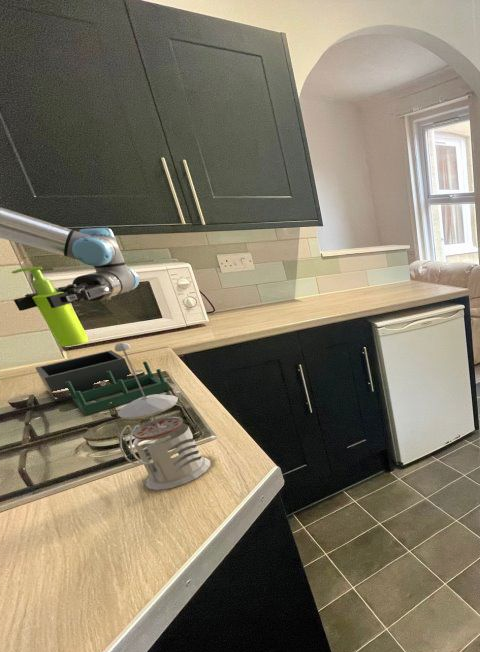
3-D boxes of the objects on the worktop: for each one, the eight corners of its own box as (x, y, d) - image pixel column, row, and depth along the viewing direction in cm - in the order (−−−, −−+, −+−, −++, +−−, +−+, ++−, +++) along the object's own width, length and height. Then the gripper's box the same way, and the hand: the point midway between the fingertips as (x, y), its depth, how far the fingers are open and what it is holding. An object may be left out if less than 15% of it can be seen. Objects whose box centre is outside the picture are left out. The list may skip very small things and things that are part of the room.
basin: (57, 402, 108) (44, 377, 105) (47, 390, 116) (34, 367, 113) (134, 381, 120) (124, 358, 117) (121, 371, 127) (111, 350, 125)
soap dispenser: (54, 345, 112) (11, 269, 103) (89, 338, 116) (50, 264, 107) (54, 349, 108) (8, 270, 99) (89, 342, 112) (49, 265, 103)
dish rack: (86, 415, 100) (74, 393, 98) (74, 403, 107) (63, 382, 105) (170, 389, 113) (161, 369, 110) (155, 380, 119) (146, 360, 117)
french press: (222, 456, 81) (173, 332, 70) (177, 496, 70) (112, 356, 60) (173, 458, 81) (117, 334, 71) (121, 497, 71) (46, 358, 60)
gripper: (138, 296, 126) (86, 314, 106) (64, 302, 123) (-4, 322, 102) (128, 271, 123) (72, 284, 103) (52, 276, 120) (-22, 292, 99)
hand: (34, 303), depth 102 cm, fingers closed on soap dispenser, 6 cm apart
